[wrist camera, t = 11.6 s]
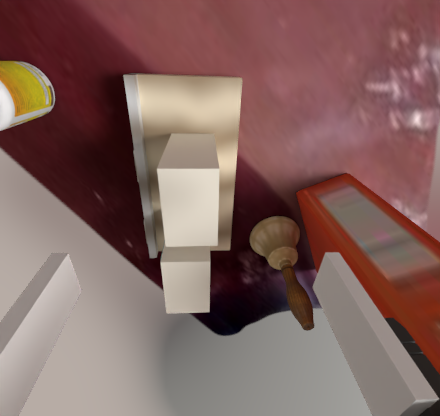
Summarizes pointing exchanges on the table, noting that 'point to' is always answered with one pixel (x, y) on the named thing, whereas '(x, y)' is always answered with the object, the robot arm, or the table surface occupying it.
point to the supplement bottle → (23, 93)
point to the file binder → (378, 254)
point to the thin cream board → (182, 123)
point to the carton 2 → (186, 278)
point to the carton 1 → (189, 190)
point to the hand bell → (284, 261)
